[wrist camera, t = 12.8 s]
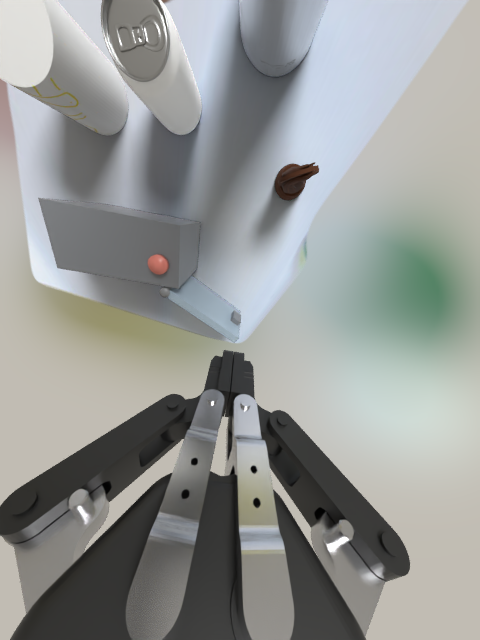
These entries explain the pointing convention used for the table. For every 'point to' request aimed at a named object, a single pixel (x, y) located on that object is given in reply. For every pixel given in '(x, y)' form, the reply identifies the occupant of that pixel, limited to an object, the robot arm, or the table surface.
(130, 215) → the grey box
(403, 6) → the table surface
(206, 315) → the side door
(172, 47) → the can
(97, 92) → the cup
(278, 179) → the chess piece
